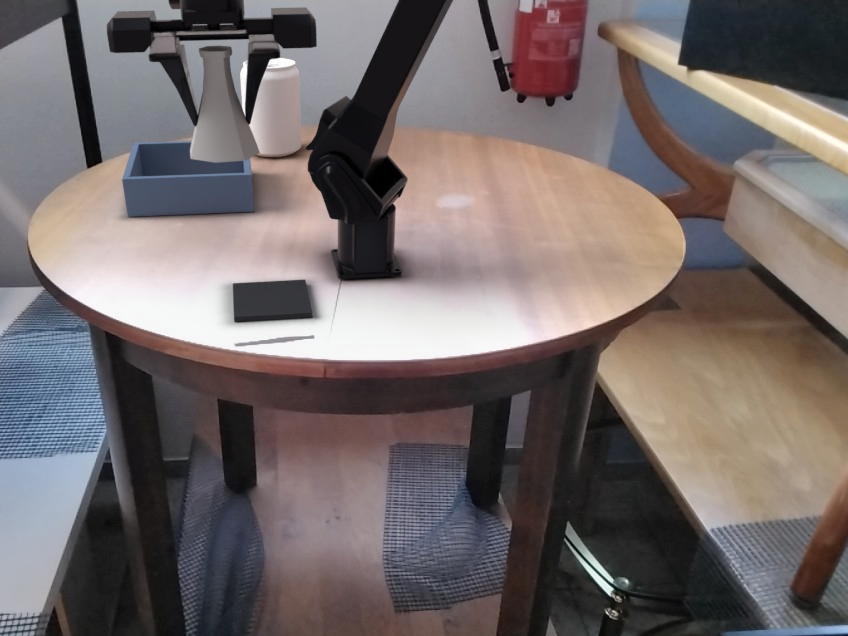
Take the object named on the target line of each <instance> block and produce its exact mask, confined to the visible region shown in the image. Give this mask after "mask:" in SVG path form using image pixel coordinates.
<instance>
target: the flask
mask: <svg viewBox="0 0 848 636" xmlns="http://www.w3.org/2000/svg"><path fill="white" fill-rule="evenodd" d="M198 54H199V56H200V58H202V64H203V79H202V80H203V81H202V93H201V98H200V102H199V108H198V111H197V112H198V122H197V126H194V130H193V134H192V139H191V141H192V143H191V147H190V157H191V159H195V160H201V161H208V162H215V163H217V162H232V161H245V160H247V159H249V158H250V159H252V158H253V157H255V156H258V155H257V154H259V153H260V152H259V149H258V146H257V143H256V141H255V138H254V136H253V133H252V131H251V129H250V126H249V124H248V123H247V121H246V117H245V114H244V112H243V109H242V103H241V102H240V98H239V97H238V93H237V91H236V87H235V83H234V79H233V75H232V69H231V56H232V55H233V48H232V46H229V45H206V46H202V47H199V48H198Z"/></svg>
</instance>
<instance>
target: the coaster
mask: <svg viewBox="0 0 848 636" xmlns="http://www.w3.org/2000/svg"><path fill="white" fill-rule="evenodd" d="M309 296H310V295H309V290H308V286H307V281H306V279H288V280H287V279H286V280H271V281H251V282H233V283H232V299H233V300H232V302H233V322H234V323H235V322H236V323H237V322H254V321H271V320H272V321H273V320H287V319H289V320H290V319H305V318H306V319H307V318H313V309H312V305H311V301H310V297H309Z"/></svg>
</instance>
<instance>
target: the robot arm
mask: <svg viewBox="0 0 848 636" xmlns="http://www.w3.org/2000/svg"><path fill="white" fill-rule="evenodd" d="M167 2H168V5H169V6H170V9H171V10H180V19H157V16H156V12H155V10H121V11H117V12H116V13H115V14H114V15H113V16H112V17H111V19H110V20H109V21H108V22H107V23H106V37H107V42H108V49H109V52H110V53H112V54H126V53H127V54H128V53H129V54H133V53H145V52H146V51H147V50H148V49H149V54H148V61H149V62H150V63H160V65H161V67H162V68H163V70H164V71H165V73H166V74H167V77H168V78H169V79H170V81H171V83H172V84H173V86H174V87H175V90H176V91H177V93H178V95H179V97H180V99H181V101H182V103H183V106H184V108H185V110H186V112H187V114H188V116H189V119H190V120H191V123H192V124H193V126H194V127H195V126H197V122H198V112H199V111H198V105H197V101H196V97H195V93H194V92H195V91H194V88H193V83H192V78H191V75H190V70H189V66H188V60H187V53H186V47H185V44H182V42H193V41H195V42H197V41H200V42H201V41H232V40H233V41H234V40H236V41H238V40H248V42H247V58H246V59H247V60H246V61H247V78H246V97H245V116H246V121H247V123H248V124H250V123H251V119H252V115H253V110H254V106H255V102H256V98H257V94H258V90H259V86H260V83H261V81H262V78H263V76H264V73H265V71H266V68H267V66H268V63H269V61H270V59H278V58H281V50H280V49H281V48H282V49H284V50H285V49H313V48H316V47H317V46H318V43H317V42H318V41H317V21H316V18H315V16H314V15H313V13H312V12H311V11H310V10H309V8H307V7H303V6H302V7H271V8H270V15H271V17H268V16H267V17H245V15H246V14H245V3H244V2H245V1H244V0H168V1H167ZM453 2H454V0H398V1H397V3H396V5H395V7H394V9H393V12H392V14H391V15H390V18H389V20H388V22H387V25H386V27H385V28H384V31H383V33H382V35H381V38H380V39H379V41H378V44H377V46H376V48H375V50H374V52H373V55H372V57H371V59H370V61H369V63H368V65H367V67H366V70H365V72H364V74H363V75H362V78H361V81H360V82H359V84H358V87H357V89H356V91H355V93H354V95H353V96H352V98H349V97H348V96H347V95H344V96H343V97H341V98H340V99H338V100H337V101H335V102H334V103H332V104H330V105H329V106H328V107H326V108H325V109H323V110H322V113H321V116H320V118H319V121H318V124H317V125H318V126H317V130H316V132H315V135H314V137H313V138H312V140H311V141H310V142H309V143H308V144H306V146H305V150H306V151H311V152H310V154H309V156H308V160H307V172H308V173H309V176H310V178H311V182H312V183H313V185H314V186H315V188H316V189H317V190H318V192H319V193H320V194H321V197H322V199H323V202H324V206H325V208H326V211H327V213H328V216H329V218H330V219H331V220H335V221H336V220H337V248H333V249H331V250H330V257H331V260H332V263H333V267H334V270H335V274H336V277H337V278H338V279H339V280H350V279H351V280H353V279H370V278H389V277H400V276H402V275H403V268H402V266H401V265H400V261H399V260H398V258H397V256H396V254H395V237H396V236H395V235H396V215H397V213H396V211H397V207H396V205H395V204H394V203H395V202H396V201H397V200H398V199H400V198H401V196H402V195H403V193H404V190H405V188H406V186H407V184H408V179H409V178H408V177H407V175H406V174H405V173H404V171H402V169H401V168H400V167H399V166H398V165H397V164H396V162H395V161H394V160H393V159H392V158H391V157H390V155H389V151H390V148H391V145H392V142H393V139H394V135H395V128H396V123H397V117H398V116H397V115H398V111H399V109H400V106H401V103H402V102H403V100H404V98H405V96H406V94H407V92H408V90H409V88H410V86H411V85H412V82H413V80H414V78H415V76H416V74H417V72H418V71H419V68H420V66H421V64H422V63H423V61H424V59H425V56H426V54H427V52H428V51H429V49H430V47H431V45H432V43H433V41H434V39H435V37H436V35H437V34H438V30H439V29H440V28H441V26H442V23H443V21H444V20H445V17H446V15H447V13H448V12H449V10H450V9H451V8H450V7H451V5H452V3H453ZM280 47H281V48H280Z"/></svg>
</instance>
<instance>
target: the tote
mask: <svg viewBox="0 0 848 636" xmlns="http://www.w3.org/2000/svg"><path fill="white" fill-rule="evenodd" d="M191 143H192V140H174V141H173V140H171V141H142V142H140V141H139V142H133V143H132V147H131V149H130V152H129V156H128V159H127V162H126V164H125V165H126V166H125V169H124V172H123V175H122V178H121V181H122V189H123V195H124V203H125V209H126V216H127V218H132V217H133V218H135V217H159V216H181V215H182V216H183V215H184V216H185V215H204V214H205V215H206V214H233V213H251V212H252V213H254V212H255V204H254V203H255V201H254V186H253V185H254V184H253V172H252V163H251V158H249V159H247V160H245V161H232V162H217V163H215V162H208V161H201V160H195V159H191V157H190V147H191Z"/></svg>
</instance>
